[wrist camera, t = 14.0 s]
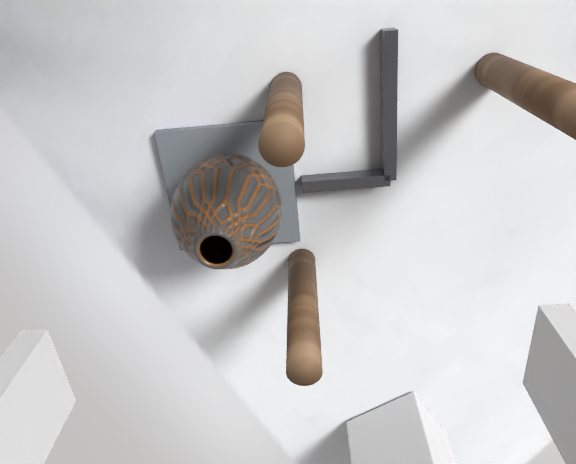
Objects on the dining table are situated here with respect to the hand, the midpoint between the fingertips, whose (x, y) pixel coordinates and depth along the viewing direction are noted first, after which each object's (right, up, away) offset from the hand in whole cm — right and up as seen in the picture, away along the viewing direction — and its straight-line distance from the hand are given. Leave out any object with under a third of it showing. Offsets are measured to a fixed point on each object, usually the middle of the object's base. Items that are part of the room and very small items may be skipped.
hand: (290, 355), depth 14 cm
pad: (-4, +7, +22) cm, 23 cm away
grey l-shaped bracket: (+4, +11, +19) cm, 22 cm away
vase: (-4, +7, +21) cm, 22 cm away
